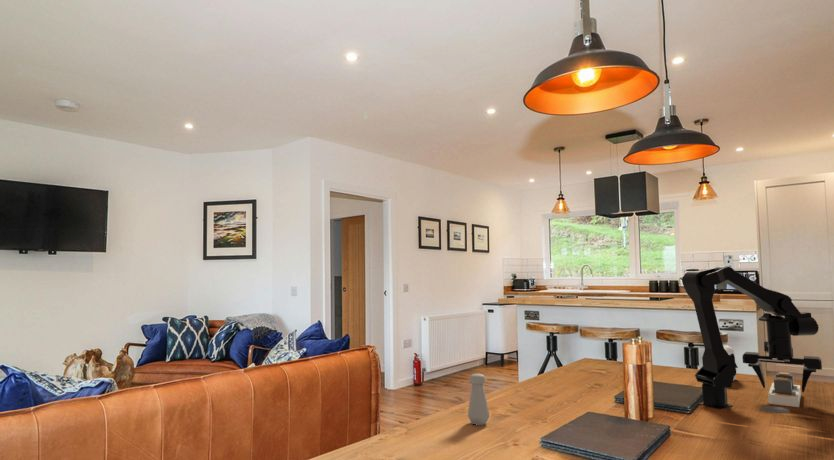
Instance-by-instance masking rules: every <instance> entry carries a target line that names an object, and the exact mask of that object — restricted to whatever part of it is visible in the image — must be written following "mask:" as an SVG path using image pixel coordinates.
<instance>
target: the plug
mask: <svg viewBox="0 0 834 460" xmlns="http://www.w3.org/2000/svg"><path fill="white" fill-rule="evenodd" d="M773 383H774V389H775V393H777V394H786V395H792V396H793V392H792V381H791V379H788V378H780V377H778V378H776V377H774V378H773Z"/></svg>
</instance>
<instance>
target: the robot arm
mask: <svg viewBox="0 0 834 460" xmlns="http://www.w3.org/2000/svg"><path fill="white" fill-rule="evenodd" d="M681 278H682V279H681V282H682V285H683V288H684V290H685V293H686V294H687V295H688V297H689V299H691V301H692V302H693V306H694V308H695V313H696V317H697V322H698V326H699V331H700V334H701V339H702V342H703V347H704V350H703V353H702V358H701V359H702V360H701V361H702V366H701V368H700V369H699V370H698V371H697V372H696V373H695V374H694V376H695V378H696V379H695V380H696V381H697V382H698V383H700V384H701V383H702V384H701V390H702V402H698V403H697V405H700V406H703V407H704V406H705V407H707V408H712V409H716V410H722V409H726V408H731V407H733V404H729V403H728V393H727V392H728V391H727V388H728V389H729V388H732V385H733V382H734V381H733V379H734V376H735V375H736V376H737V369H738V368H739V367H738V365H737V363H736V358H735V353H734V354H732V353H728V352H726V350H725V349H724V347H723V345H724V343H723V339H722V334H721V331H720V328H719V324H718V323H719V322H718V319H717V315H716V311H715V307H714V303H713V297H714V296H715V292H716V289H715V287H716V285H719V284H723V283H725V284H726V285H728V286H730V287H731V288H733V289H735V290H737V291H739V292H740V293H742V294H744V295H745V296H747V297H749V298H750V299H752V300H753V301H754V302H755V305H756V306H758V307H759V308H760V309H761V310H762V311H764V313H763V315H762V316H760V317H759V318H758V321H760V322H765V323H766V335H767V341H766V340H765V341H764V342H763V350H764V352H765V354H766V353H768V355H760V352H757V351H745V352H744V353H743V354H742V363H743V364H747V366H748V367H750V368H752V369H753V371H754V372H755V373H756V375H757V377H758V380H759V381H760V384H761V386H762V388H763V389H766V381H765V376H764V371H763V367H762V363H770V364H771V363H774V364H784V365H785V364H786V365H796V366H797V365H798V366H803V368H802V378H801V379H802V382H801V393H805V390H806V387H807V384H808V380H809V379H810V376H811V375H812V373H817V370H819V371H820V370H823V365H822V358H821V357H820V356H809V355H803V358H798V357H794V348H793V347H792V345H793V344H792V337H796V336H797V337H799V336H800V337H801V336H804V337H805V336H815V335H816V334H818V332H819V324H818V322H817V320H816V319H815V318H814V317H812V313H811V312H805V311H804V312H800V310H799V309H798V308H797V306H796V305H795V304H794V303H793V302H792V301H793V300H792V297H790V296H789V295H787V294H784V293H783V292H779V291H777V290H773V289H769V288H765V287H764V286H762V285H761V284H759V283H757V282H755V281H753V280H752V279H750V278H749V277H747V276H745V275H743V274H741V273H740V272H738V271H736V270H734V268H733V267H731V266H729V265H728V266H727V265H726V266H717V267H714V268H709V269H705V270H701V271H700V270H694V271H693V270H690V271H686V273H684V274H683V276H682V277H681ZM772 314H773V315H772Z"/></svg>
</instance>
